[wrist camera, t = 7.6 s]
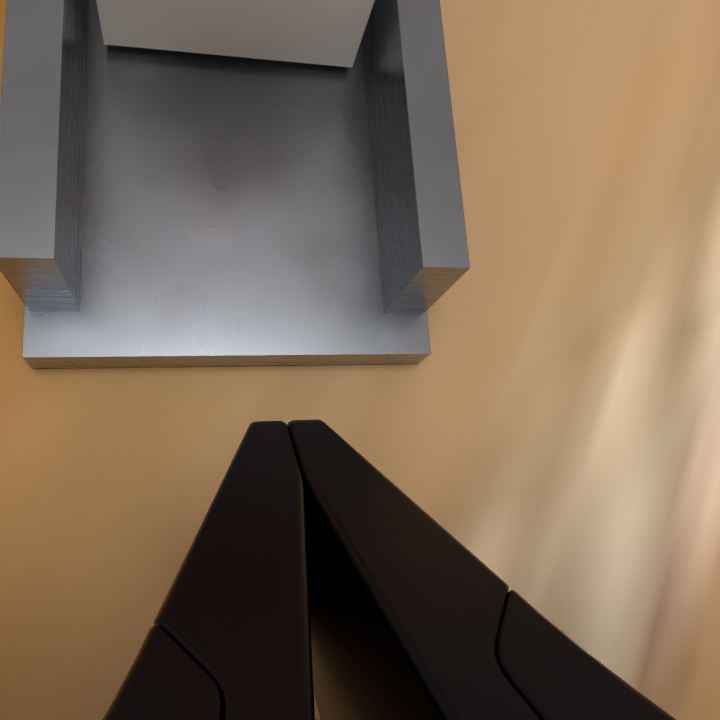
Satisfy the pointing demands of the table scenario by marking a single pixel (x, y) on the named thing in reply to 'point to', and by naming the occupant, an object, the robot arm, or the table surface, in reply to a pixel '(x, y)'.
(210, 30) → the push button
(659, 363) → the table surface
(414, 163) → the press housing
